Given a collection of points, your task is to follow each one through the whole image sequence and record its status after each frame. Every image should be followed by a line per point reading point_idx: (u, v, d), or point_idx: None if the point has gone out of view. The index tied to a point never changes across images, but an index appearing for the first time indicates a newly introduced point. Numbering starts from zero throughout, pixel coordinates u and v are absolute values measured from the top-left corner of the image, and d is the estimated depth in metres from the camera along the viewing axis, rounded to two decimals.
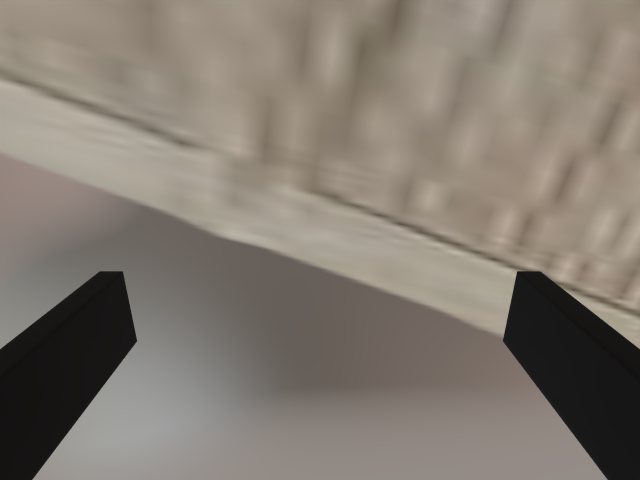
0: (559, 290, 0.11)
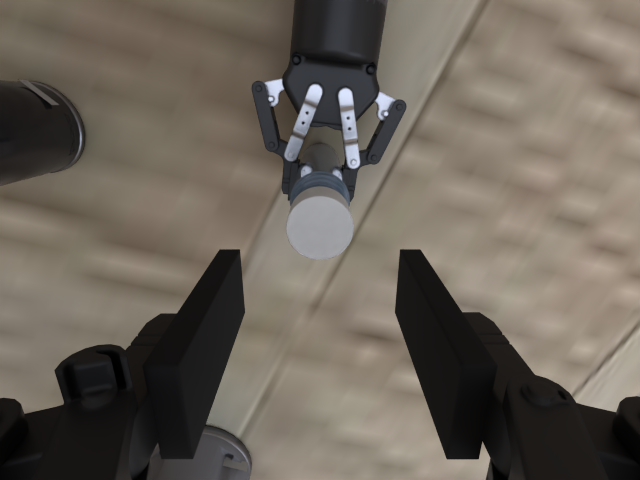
0: (425, 263, 0.13)
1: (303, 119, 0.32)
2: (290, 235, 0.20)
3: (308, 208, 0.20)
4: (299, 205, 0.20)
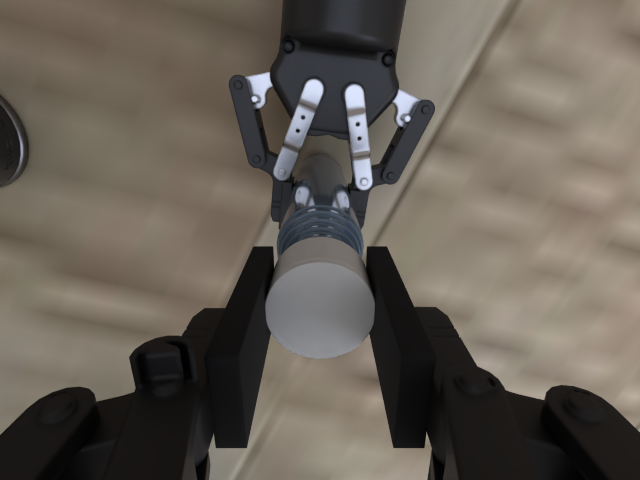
0: (388, 260, 0.13)
1: (298, 126, 0.24)
2: (272, 323, 0.12)
3: (301, 282, 0.12)
4: (286, 277, 0.12)
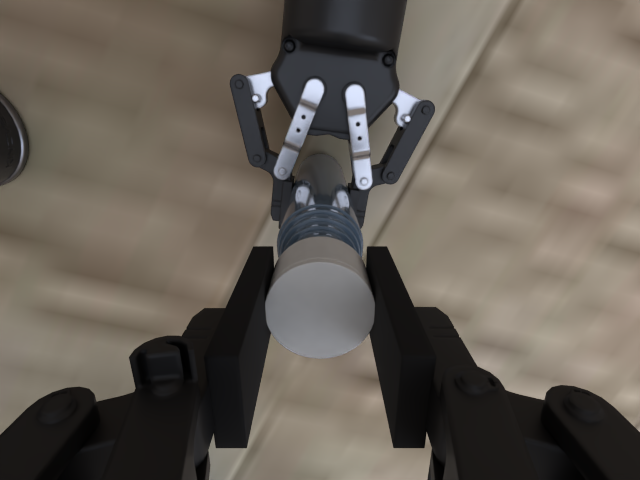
0: (388, 260, 0.13)
1: (298, 125, 0.24)
2: (331, 353, 0.13)
3: (285, 329, 0.13)
4: (281, 341, 0.13)
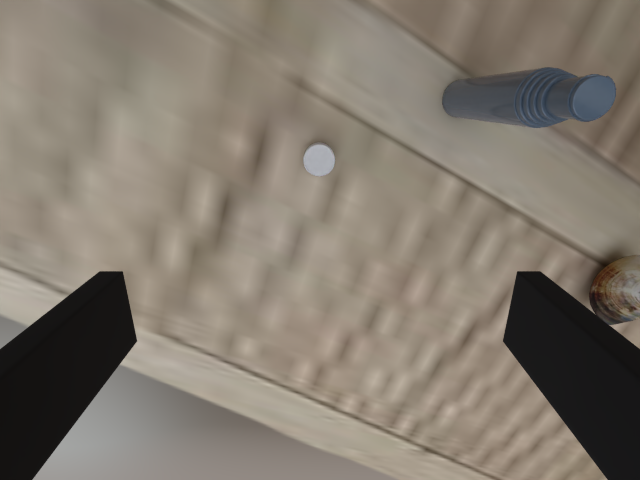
0: (559, 290, 0.11)
1: None
2: (305, 164, 0.44)
3: (313, 150, 0.43)
4: (308, 149, 0.43)
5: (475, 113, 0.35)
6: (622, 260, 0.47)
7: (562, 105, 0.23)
